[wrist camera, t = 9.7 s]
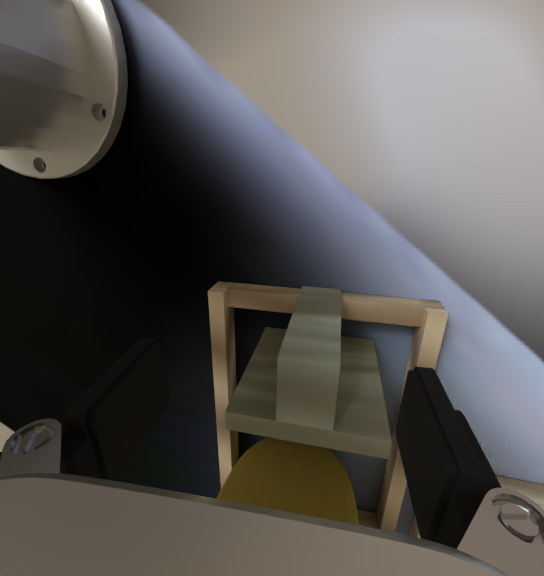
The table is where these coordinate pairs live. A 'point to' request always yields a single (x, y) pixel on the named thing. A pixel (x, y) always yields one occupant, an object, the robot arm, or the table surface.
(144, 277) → the table surface
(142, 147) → the table surface
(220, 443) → the wooden frame with block
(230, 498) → the flower pot
